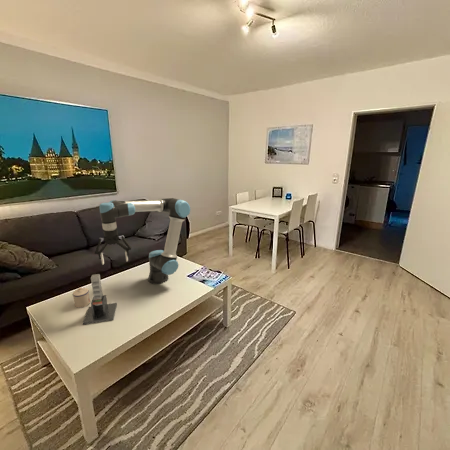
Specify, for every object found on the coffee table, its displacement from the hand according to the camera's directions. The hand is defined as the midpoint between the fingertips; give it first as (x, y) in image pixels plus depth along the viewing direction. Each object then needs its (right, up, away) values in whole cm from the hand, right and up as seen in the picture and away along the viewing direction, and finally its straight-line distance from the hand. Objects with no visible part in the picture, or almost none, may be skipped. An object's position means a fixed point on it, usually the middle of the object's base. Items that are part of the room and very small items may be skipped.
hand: (115, 262), depth 152 cm
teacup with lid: (-26, -28, +9) cm, 40 cm away
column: (-8, -24, -4) cm, 26 cm away
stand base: (-8, -31, -2) cm, 32 cm away
